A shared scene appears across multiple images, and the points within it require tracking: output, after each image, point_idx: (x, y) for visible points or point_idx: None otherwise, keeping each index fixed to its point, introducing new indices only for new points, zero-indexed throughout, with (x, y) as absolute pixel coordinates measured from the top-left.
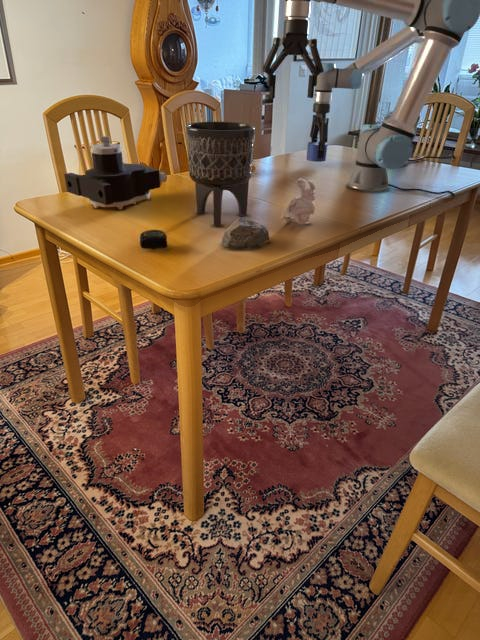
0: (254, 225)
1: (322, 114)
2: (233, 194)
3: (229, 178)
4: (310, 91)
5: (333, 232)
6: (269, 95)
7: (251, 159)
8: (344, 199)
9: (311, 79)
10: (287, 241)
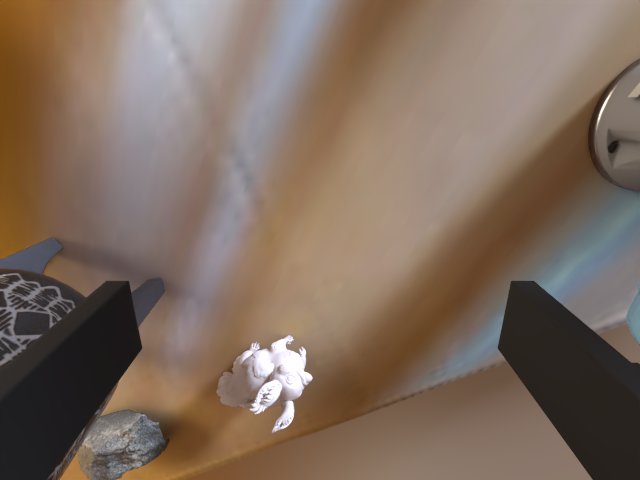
0: (128, 459)
1: None
2: None
3: None
4: (528, 365)
5: (310, 416)
6: (96, 293)
7: (85, 438)
8: (482, 227)
9: (612, 469)
10: (207, 431)
